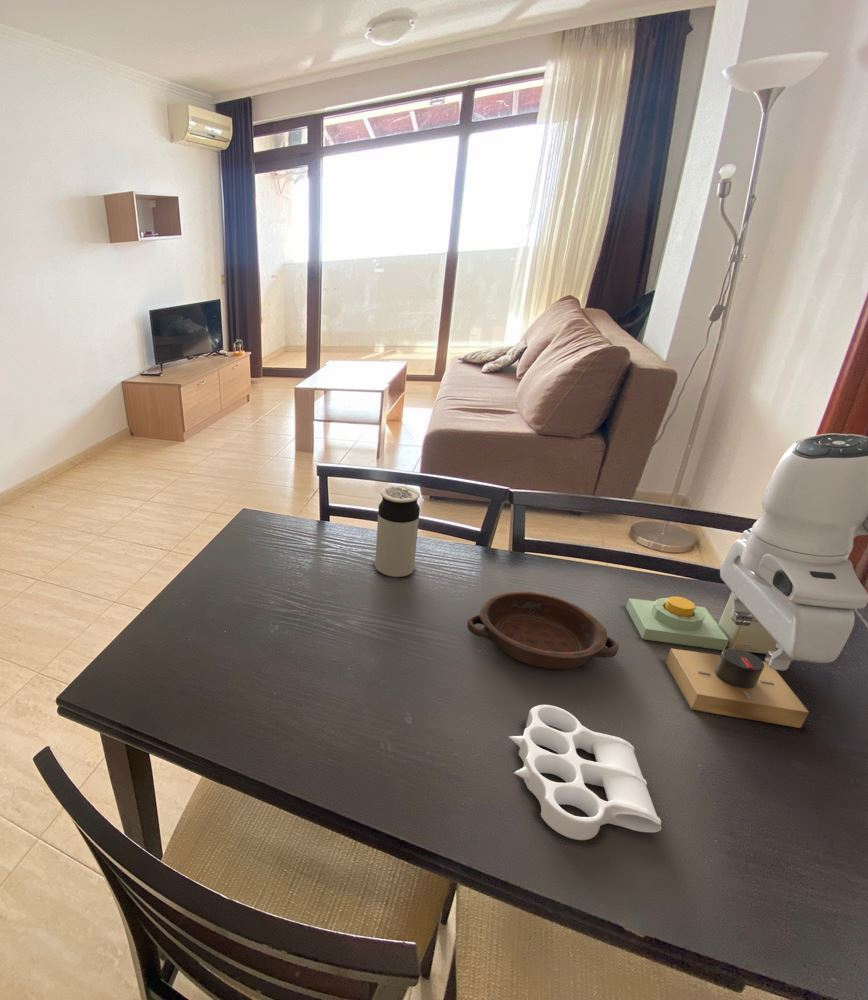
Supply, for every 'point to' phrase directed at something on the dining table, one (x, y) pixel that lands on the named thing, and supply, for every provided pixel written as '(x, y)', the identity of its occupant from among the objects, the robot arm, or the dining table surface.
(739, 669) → the dial
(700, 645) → the button housing
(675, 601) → the button
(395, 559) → the travel mug
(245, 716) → the dining table surface
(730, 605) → the cosmetic box
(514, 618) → the dish
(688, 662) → the dial panel
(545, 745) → the knuckle duster
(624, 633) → the dining table surface
